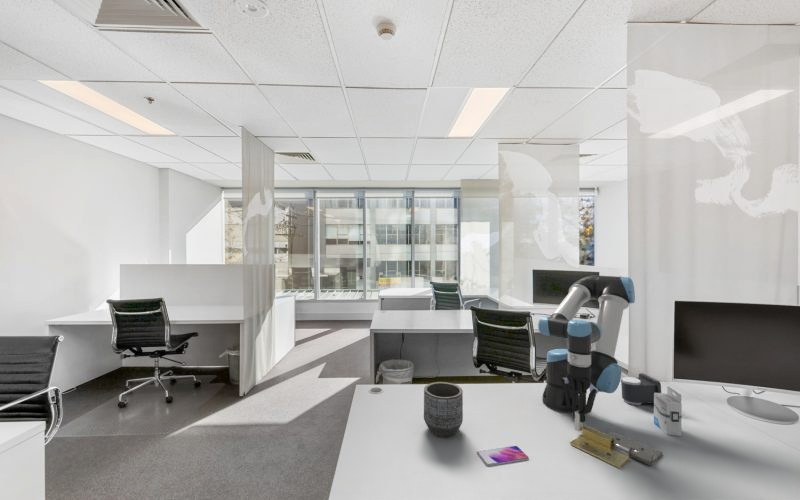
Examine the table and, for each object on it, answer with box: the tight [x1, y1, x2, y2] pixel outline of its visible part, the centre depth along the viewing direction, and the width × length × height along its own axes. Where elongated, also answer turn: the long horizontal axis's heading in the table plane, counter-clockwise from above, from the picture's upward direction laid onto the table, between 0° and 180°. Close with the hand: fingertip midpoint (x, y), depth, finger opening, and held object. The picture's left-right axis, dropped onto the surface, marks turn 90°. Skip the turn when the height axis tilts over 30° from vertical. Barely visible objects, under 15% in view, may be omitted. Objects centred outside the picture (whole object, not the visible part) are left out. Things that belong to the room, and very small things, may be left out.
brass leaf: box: [569, 425, 631, 469], centre depth 108 cm, size 15×11×3 cm
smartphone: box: [476, 445, 530, 467], centre depth 104 cm, size 7×1×15 cm
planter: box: [423, 381, 464, 438], centre depth 120 cm, size 14×14×15 cm
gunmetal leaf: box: [607, 431, 664, 466], centre depth 108 cm, size 15×11×3 cm
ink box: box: [653, 385, 683, 436], centre depth 121 cm, size 9×5×15 cm, turn 168°
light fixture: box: [620, 372, 662, 406], centre depth 143 cm, size 11×13×11 cm
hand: (578, 429), depth 117 cm, fingers closed
